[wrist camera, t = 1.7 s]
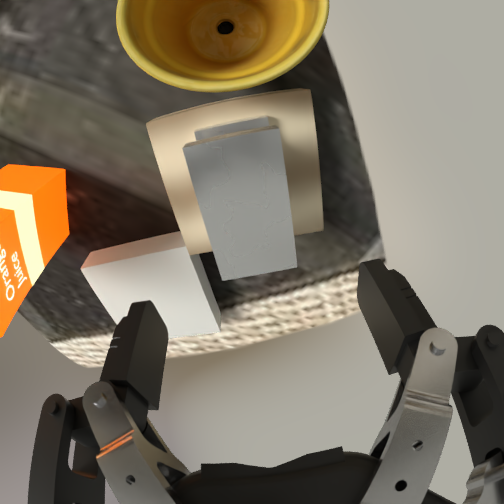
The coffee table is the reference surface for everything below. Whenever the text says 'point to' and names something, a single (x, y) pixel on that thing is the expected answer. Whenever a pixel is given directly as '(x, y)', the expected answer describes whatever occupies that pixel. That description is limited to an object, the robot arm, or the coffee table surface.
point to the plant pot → (219, 39)
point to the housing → (243, 196)
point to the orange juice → (28, 230)
